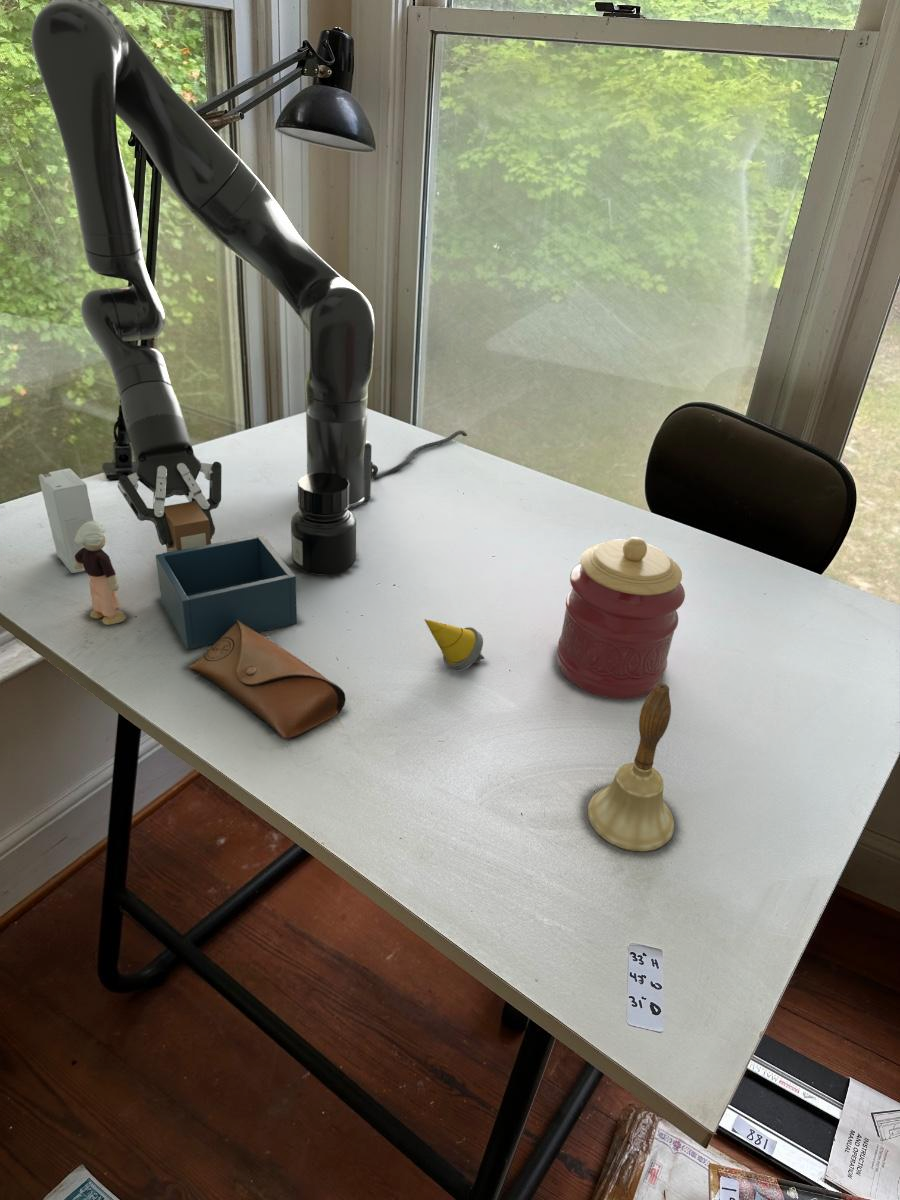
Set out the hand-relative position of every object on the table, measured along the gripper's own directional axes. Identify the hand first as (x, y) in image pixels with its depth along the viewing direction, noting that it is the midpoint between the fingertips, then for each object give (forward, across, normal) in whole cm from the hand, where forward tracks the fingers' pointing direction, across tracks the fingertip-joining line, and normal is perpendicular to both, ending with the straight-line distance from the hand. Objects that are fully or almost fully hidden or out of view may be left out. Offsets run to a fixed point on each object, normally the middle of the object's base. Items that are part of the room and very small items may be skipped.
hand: (189, 542), depth 112 cm
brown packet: (+2, 0, +4) cm, 4 cm away
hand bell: (+47, +24, -41) cm, 67 cm away
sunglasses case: (+23, 0, -17) cm, 29 cm away
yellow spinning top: (+27, +21, -21) cm, 40 cm away
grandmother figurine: (+8, -13, -2) cm, 15 cm away
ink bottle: (+7, +17, -1) cm, 18 cm away
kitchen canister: (+33, +38, -27) cm, 57 cm away
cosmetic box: (-3, -13, +9) cm, 16 cm away
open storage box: (+12, +1, -6) cm, 13 cm away
